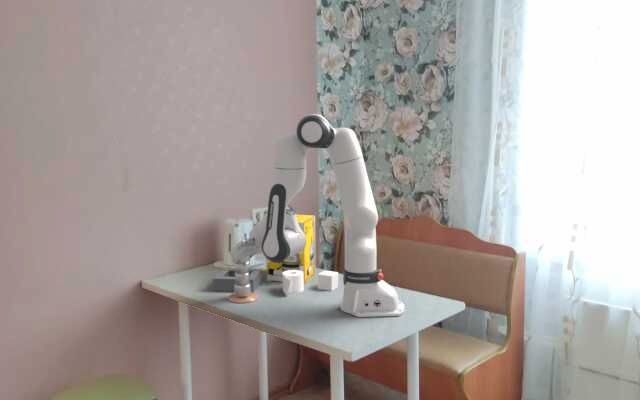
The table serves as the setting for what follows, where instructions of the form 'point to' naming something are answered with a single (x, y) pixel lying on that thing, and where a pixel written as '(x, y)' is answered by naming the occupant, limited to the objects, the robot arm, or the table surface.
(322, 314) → the table surface
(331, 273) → the white cube
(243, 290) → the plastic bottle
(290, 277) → the toilet paper
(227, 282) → the charcoal collar
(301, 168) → the robot arm
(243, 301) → the terracotta coaster
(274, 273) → the packaging box
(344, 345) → the table surface
